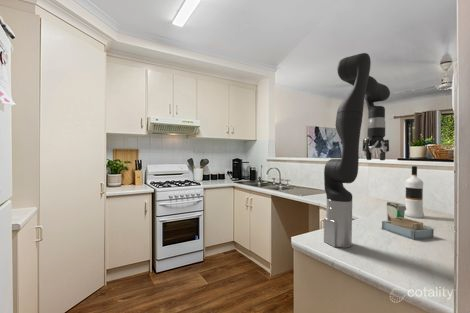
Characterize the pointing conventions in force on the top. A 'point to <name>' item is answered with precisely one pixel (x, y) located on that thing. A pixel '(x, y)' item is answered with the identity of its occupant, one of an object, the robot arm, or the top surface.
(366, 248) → the top surface
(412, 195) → the vodka
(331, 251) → the top surface
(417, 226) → the small crate
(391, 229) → the crate
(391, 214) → the food container
